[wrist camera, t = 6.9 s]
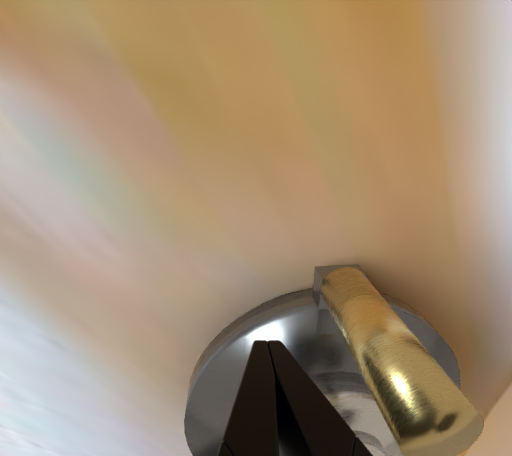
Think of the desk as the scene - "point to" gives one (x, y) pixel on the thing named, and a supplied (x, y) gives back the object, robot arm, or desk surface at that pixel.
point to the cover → (358, 410)
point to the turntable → (343, 363)
